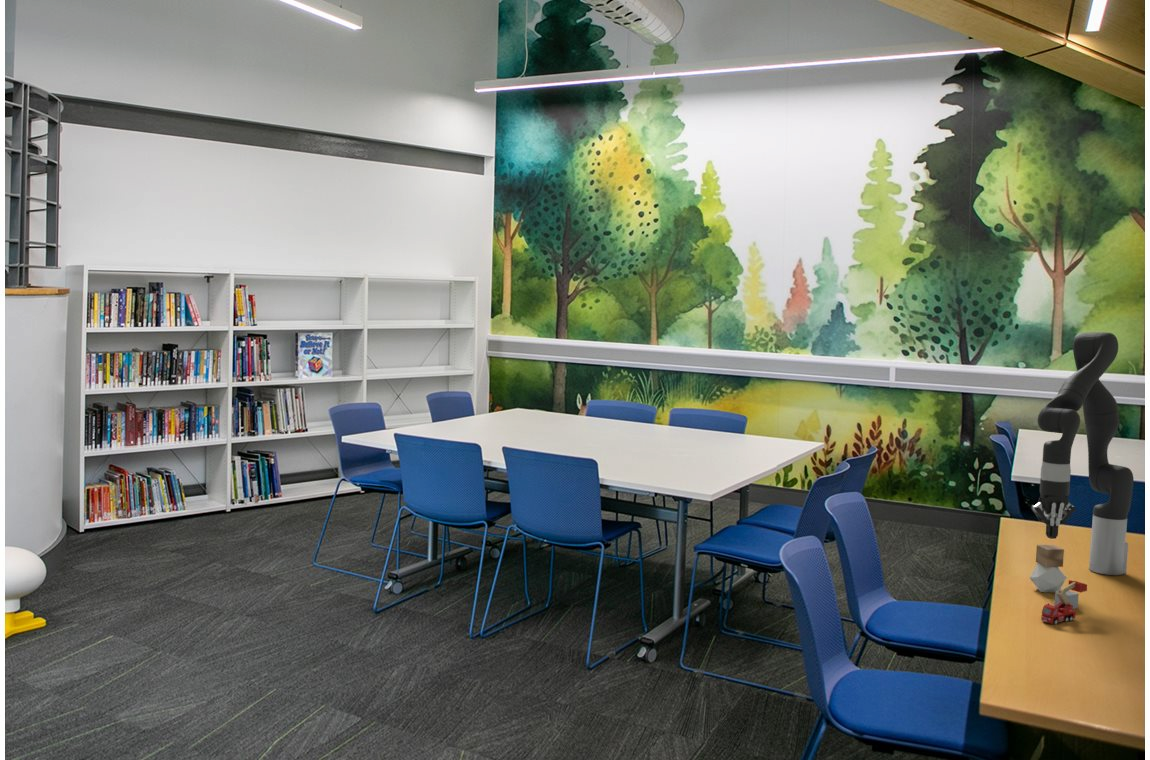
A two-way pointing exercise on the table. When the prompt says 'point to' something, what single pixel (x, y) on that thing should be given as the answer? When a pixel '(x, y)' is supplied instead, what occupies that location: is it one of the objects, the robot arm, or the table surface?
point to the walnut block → (1049, 555)
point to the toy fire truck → (1062, 605)
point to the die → (1047, 578)
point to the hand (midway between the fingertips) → (1051, 537)
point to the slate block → (1072, 599)
